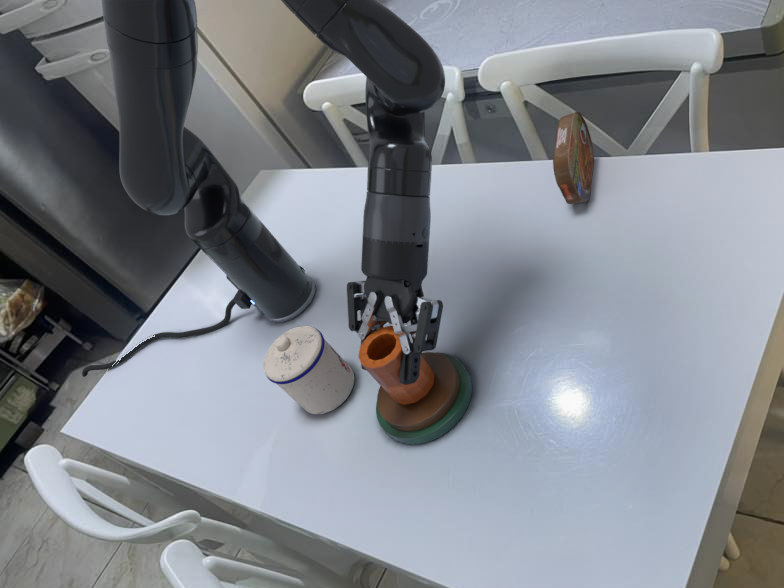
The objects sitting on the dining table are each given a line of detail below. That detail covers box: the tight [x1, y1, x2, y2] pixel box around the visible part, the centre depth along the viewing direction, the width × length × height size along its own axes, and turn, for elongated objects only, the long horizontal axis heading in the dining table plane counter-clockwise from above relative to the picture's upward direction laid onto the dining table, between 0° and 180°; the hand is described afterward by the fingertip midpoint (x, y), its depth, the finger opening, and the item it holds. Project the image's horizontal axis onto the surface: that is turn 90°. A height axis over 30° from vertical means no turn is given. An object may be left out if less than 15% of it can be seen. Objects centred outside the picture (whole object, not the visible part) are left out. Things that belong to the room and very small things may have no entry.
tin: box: [552, 111, 595, 205], centre depth 101 cm, size 15×3×8 cm, turn 168°
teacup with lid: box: [263, 325, 355, 415], centre depth 95 cm, size 12×9×12 cm
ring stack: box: [375, 351, 473, 445], centre depth 89 cm, size 13×13×3 cm
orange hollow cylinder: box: [358, 325, 435, 405], centre depth 85 cm, size 6×6×8 cm
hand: (388, 375), depth 84 cm, fingers closed on orange hollow cylinder, 6 cm apart
